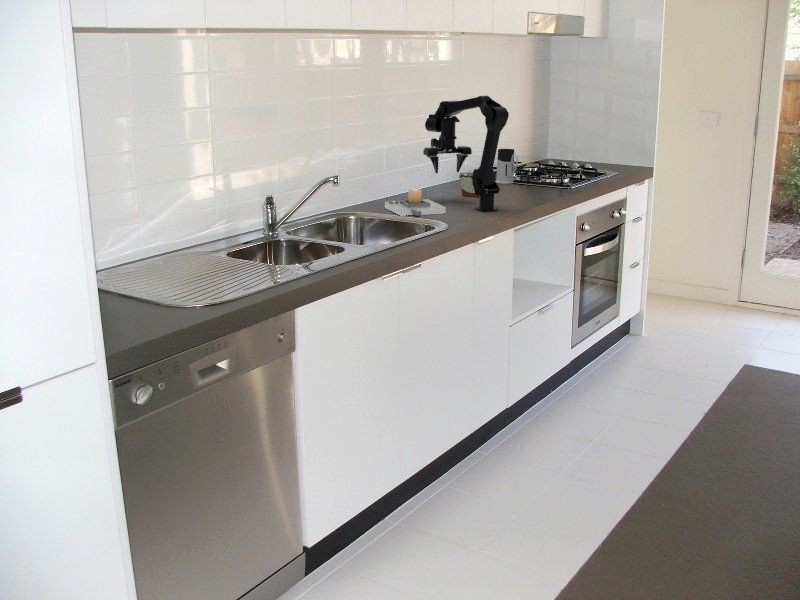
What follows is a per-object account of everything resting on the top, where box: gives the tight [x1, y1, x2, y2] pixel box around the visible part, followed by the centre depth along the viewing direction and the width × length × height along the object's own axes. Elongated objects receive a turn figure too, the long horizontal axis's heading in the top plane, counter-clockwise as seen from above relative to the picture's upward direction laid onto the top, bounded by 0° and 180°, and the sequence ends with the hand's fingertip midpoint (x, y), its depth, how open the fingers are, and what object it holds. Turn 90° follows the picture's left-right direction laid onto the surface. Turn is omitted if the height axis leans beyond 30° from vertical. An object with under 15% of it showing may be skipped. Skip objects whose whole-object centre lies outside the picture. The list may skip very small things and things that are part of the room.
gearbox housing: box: [384, 198, 447, 217], centre depth 337 cm, size 21×18×4 cm
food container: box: [458, 171, 479, 200], centre depth 368 cm, size 12×6×10 cm, turn 59°
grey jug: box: [495, 148, 519, 185], centre depth 405 cm, size 9×14×15 cm, turn 24°
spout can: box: [407, 188, 422, 204], centre depth 339 cm, size 7×5×8 cm
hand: (447, 172), depth 353 cm, fingers open, 9 cm apart
